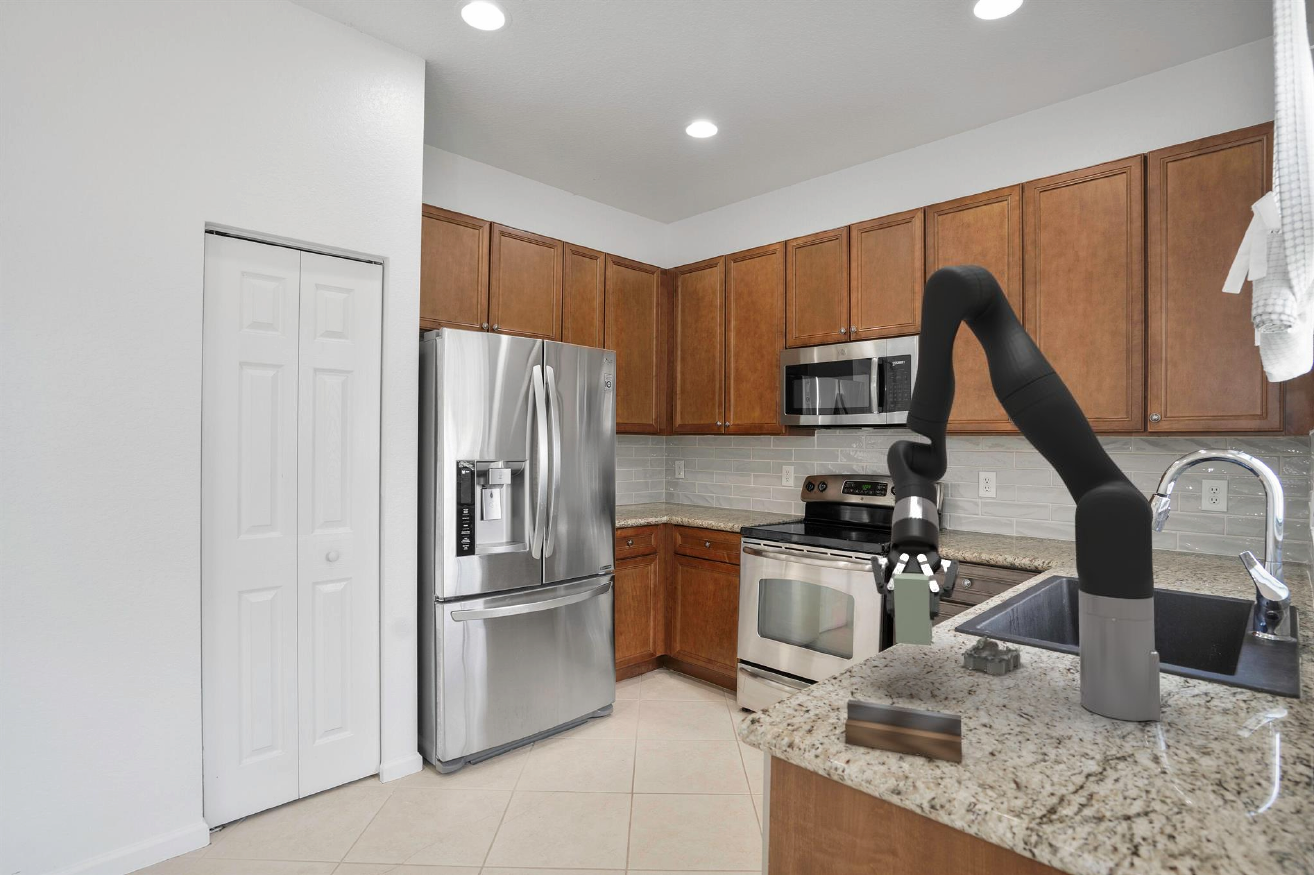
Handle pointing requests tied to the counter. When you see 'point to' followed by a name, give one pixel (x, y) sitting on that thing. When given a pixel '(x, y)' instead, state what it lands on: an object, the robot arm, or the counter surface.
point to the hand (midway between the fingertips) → (912, 615)
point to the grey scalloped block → (991, 657)
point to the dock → (904, 730)
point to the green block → (912, 609)
